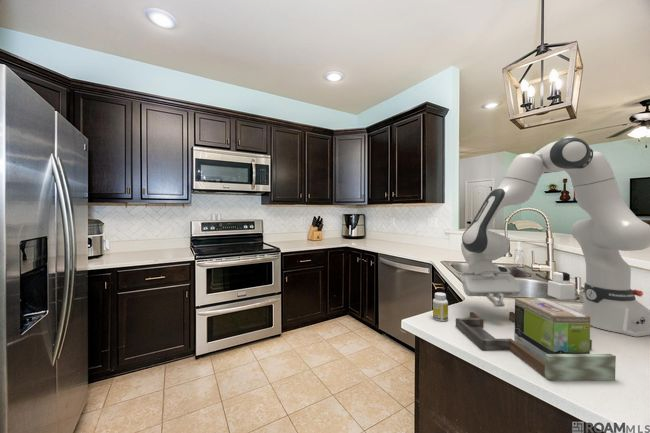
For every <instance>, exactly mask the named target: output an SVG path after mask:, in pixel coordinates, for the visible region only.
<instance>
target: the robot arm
mask: <svg viewBox="0 0 650 433" xmlns="http://www.w3.org/2000/svg"><path fill="white" fill-rule="evenodd" d="M611 166H612V165H611V164H610V162H609V161H608V159H607V157H606V156H605V155H604V153H603V152H600V151H595V150H593V149H592V148H591V147H590V146H589V144H588V143H587V142H586V141H585V140H583V139H582V138H578V137H565V138H562V139H559V140H555V141H552V142H550V143H548V144H546V145H544V146H542V147H540V148H538V149H537V150H535V151H534V152H533V153H531V152H530V153H529V152H526V153H520V154H518V155H516V156H515V157H514V159H513V160H511V163H510V164H509V166H508V167H507V169H506V171H505V174H504V176H503V178H502V180H501V182H500V184H499V186H497V187H496V188H495V189H493V190H492V191H490V193H489V194H488V195H487V197H486V198H485V199H484V201H483V203H482V205H481V206H480V208H479V209H478V212H477V213H476V215H475V216H474V218H473V219H472V222H471V223H470V224H469V226H468V227H467V228H466V229H465V231H464V232H463V233H462V236H461V244H460V247H461V248H460V249H461V253H462V256H463V258H464V260H465V262H466V264H467V265H468V269H469V271H470V272H462V273H461V274H460V275H459V280H460V282H461V285H462V288H463V292H464V294H465V295H466V296H467V297H486V298H487V300H488V301H490V302H491V303H492V304H493V306H494V307H496V308H497V307H498V308H499V307H504V306H505V302H504V297H517V296H519V294H521V293H522V287H521V285H520V284H519V281H517V279H516V277H514V276H513V275H512V274H510V273H511V270H510V269H509V268H508V267H506V266H505V267H504V266H500V265H497V264H494V263H493V261H495V260H498V259H501V258H503V257H504V256H506V255H507V254H508V253H509V251H510V248H511V244H510V243H511V242H510V240H509V238H508V237H507V236H505V235H503V234H501V233H499V232H494V231H491V230H489V228H490V226H491V224H492V223H493V221H494V219H495V218H496V216H497V214H498V213H499V211H501V210H502V209H503V208H505V207H510V206H517V205H522V204H523V203H525V202H527V201H529V200H530V199H531V198H532V196H533V194H534V193H535V190H536V188H537V186H538V183H539V181H540V178H541V177H542V175H544V174H549V173H550V174H551V173H558V172H559V173H560V172H563V171H564V172H565V173H566V174H568V177H569V178H570V182H571V186H572V189H573V192H574V196H575V199H576V202H577V205H578V207H579V208H581V209H582V210H583V211H585V213H587V214H588V215H589V218H588V217H587V218H583V219H579V220H577V221H576V222H574V223H573V225H572V227H571V235H572V237H573V238H574V239H575V240H576V241H577V243H578V244H579V246H580V248H581V252H582V254H583V257H584V260H585V261H584V262H585V283H584V285H583V292H584V297H583V302H582V308H581V311H580V312H581V313H584V314H586V315H589V316H590V327H594V328H598V329H601V330H605V331H609V332H614V333H619V334H623V335H627V336H632V337H637V338H638V337H644V336H645V337H646V336H650V309H649V308H648V307H647V306H645V305H643V304H642V303H641V302H639V301H638V300H637V299H636V296H637V297H642V296H644V292H643V291H642V290H638V289H632V288H631V284H632V283H631V278H632V277H631V275H632V274H631V273H632V272H631V271H632V269H631V267H630V265H629V263H628V262H626V261H625V260H624V259H623V257H622V255H621V253H620V251H621V252H622V251H623V252H627V251H630V252H631V251H643V250H645V249H646V250H647V248H650V224H648V223H647V222H645V221H643V220H641V218H639V217H638V216H636V214H635V213H634V212H633V211H632V210H631V209H630V208H629V206H628V205H627V204H626V202H625V201H624V199H623V197H622V195H621V192H620V189H619V186H618V183H617V180H616V177H615V173H614V170H613V169H612V167H611ZM495 297H496V298H497V299H498V300H497V299H496V298H495Z"/></svg>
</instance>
